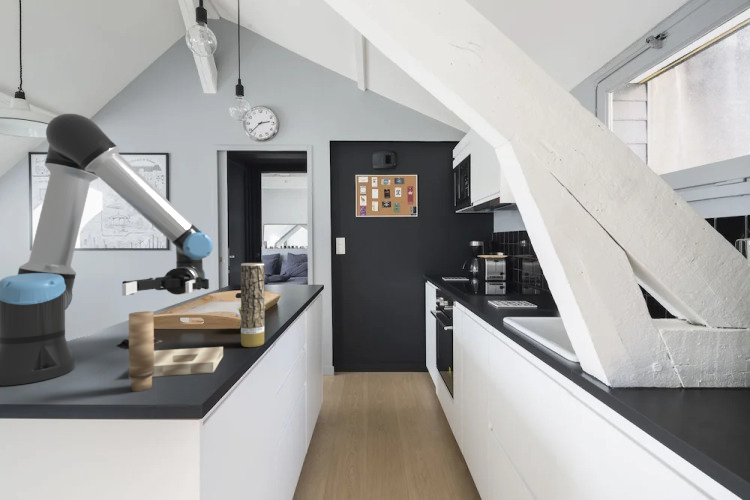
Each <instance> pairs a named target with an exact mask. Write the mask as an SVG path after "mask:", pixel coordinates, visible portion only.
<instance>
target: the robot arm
mask: <svg viewBox="0 0 750 500" xmlns="http://www.w3.org/2000/svg"><path fill="white" fill-rule="evenodd" d="M45 136H46V141H47V142H48V144H49V146H48V149H47V154H46V158H45V163H44V166H45V168H46V169H47V170H48V171H49V177H48V178H49V179H48V182H47V186H46V189H45V194H44V198H43V202H42V206H41V210H40V214H39V219H38V223H37V227H36V231H35V234H34V235H35V236H34V239H33V243H32V247H31V251H30V254H29V259H28V261H27V262H25V263H24V264H21V265H20V266H19V268H18V270H17V274H16V275H9V276H5V277H4V278H2V279H0V386H3V387H5V386H17V385H25V384H32V383H37V382H41V381H46V380H50V379H51V380H52V379H54V378H57V377H60V376H63V375H66V374H68V373H70V372H72V371H73V370H75V357H74V355H73V352H72V350H71V348H70V346H69V343H68V341H67V339H66V310H67V309H68V308H69V306H70V305H71V303H72V300H73V288H74V284H75V279H76V276H77V273H76V271H75V270H74V268H72V262H73V256H74V252H75V248H76V244H77V239H78V236H79V231H80V227H81V224H82V220H83V214H84V210H85V206H86V201H87V198H88V197H87V196H88V193H89V188H90V184H91V182H93V181H95V180H97V179H99V178H100V180H101V181H103V182H104V183H105V184H106V185H107V186H108V187H110V189H112V190H113V192H115V193H116V194H117V195H118V196H119V197H121V199H123V200H124V201H125V202H126V203H127V204H128V205H130V206H131V207H132V208H133V209H135V211H136V212H137V213H139V215H141V216H142V218H144V219H145V220H147V222H148V223H150V224H151V225H152V226H153V227H154V228H155V229H156V230H158V232H160V233H161V234H162V235H163V236H164V237H165V238H166V239H168V240H169V241H170V242H171V243H172V244H173V245H174V246H175V254H176V261H175V264H176V265H175V268H173V269H169V271H167V273H166V274H165V275H164V276H158V277H155V278H154V277H149V278H143V279H135V280H124V281H122V282H121V283H122V285H121V289H122V291H121V293H122V296H128V295H134V294H135V293H138V292H140V291H149V290H155V291H167V292H168V293H170V294H172V295H178V296H179V295H185V294H190V293H193V292H194V291H196V290H198V291H200V290H209V289H210V286H209V285H210V284H209V283H210V282H209V281H210V280H209V278H206V272H205V270H204V269H203V267H204V266H203V265H204V264H203V259H205V258H207V257H208V256H210V255H211V253H212V252H213V247H214V244H213V241H212V239H211V238H210V236H209V235H207V233H204V232H202V231H203V230H202V229H200V228H198V227H196V225H194V224H193V223H192V222H191V221H190V220H189V218H187V217H186V216H185V215H184V214H183V213H182V212H181V211H179V209H177V207H175V206H174V204H172V203H171V201H169V200H168V199H167V198H166V197H165V196H164V195H163V194H162V193H160V191H159V190H158V189H157V188H156V187H155V186H153V185H152V184H151V182H149V181H148V180H147V179H146V178H145V177H144V176H143V175H142V174H141V173H140V172H139V171H138V170H137V169H135V168H134V167H133V166H132V165H131V164H130V163H129V162H128V161H127V160H126V159H125V158H124V157H123V156H122V155H121V154H120V153H119V146H117V145H116V144H115V143H114V142H113V141H112V140H111V139H110V138H109V136H108V135H107V134H105V132H104V131H103V130H102V129H101V128H100V127H99V126H98V125H97V124H96V123H95V122H94V121H93V120H91V119H90V118H88V117H86V116H83V115H82V114H79V113H78V114H77V113H63V114H60V115H58V116H55V117H53V118H52V119H51V120H50V121H49V122H48V124H47V126H46V129H45Z"/></svg>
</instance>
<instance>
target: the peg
mask: <svg viewBox="0 0 750 500" xmlns="http://www.w3.org/2000/svg"><path fill="white" fill-rule="evenodd" d="M154 317H155V316H154V311H150V310H149V311H137V312H130V313H128V340H129V349H128V378H129V377H130V378H129V379H130V390H131V391H132V392H144V391H147V390H149V389H151V388H153V377H152V374H154V351H155V344H154V337H155V331H154V330H155V329H154V328H155V322H154V321H155V320H154V319H155V318H154Z"/></svg>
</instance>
